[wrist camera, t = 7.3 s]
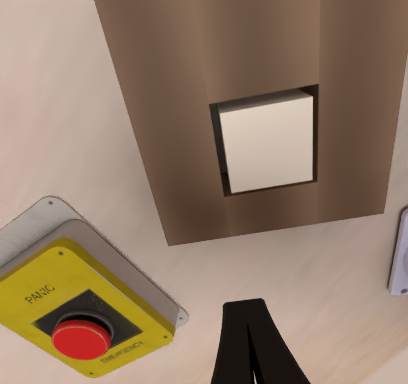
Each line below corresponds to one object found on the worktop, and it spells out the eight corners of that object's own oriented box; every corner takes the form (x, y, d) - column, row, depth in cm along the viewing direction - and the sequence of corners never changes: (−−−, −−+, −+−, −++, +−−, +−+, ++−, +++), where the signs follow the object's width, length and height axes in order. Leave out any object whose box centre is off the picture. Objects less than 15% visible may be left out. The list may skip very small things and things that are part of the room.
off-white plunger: (290, 85, 15) (312, 96, 12) (292, 155, 17) (312, 179, 14) (215, 99, 15) (219, 113, 12) (226, 166, 17) (231, 193, 14)
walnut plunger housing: (408, -384, 9) (499, -567, 6) (356, 187, 18) (383, 213, 15) (36, -276, 10) (-26, -397, 7) (172, 217, 19) (168, 246, 16)
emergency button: (99, 406, 23) (-83, 301, 17) (114, 353, 27) (-31, 252, 21) (193, 365, 20) (18, 225, 14) (194, 313, 24) (56, 185, 18)
